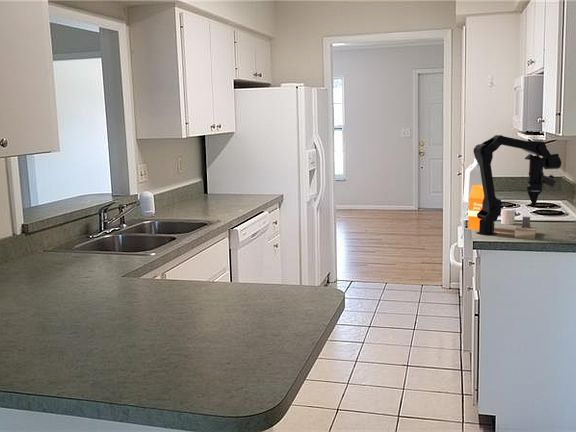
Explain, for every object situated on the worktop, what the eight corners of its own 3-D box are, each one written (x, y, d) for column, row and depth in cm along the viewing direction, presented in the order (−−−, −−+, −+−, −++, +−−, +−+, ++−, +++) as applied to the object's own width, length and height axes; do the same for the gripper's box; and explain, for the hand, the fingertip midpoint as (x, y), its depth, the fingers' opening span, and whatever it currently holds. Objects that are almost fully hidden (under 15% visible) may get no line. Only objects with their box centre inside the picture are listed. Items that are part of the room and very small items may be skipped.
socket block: (534, 239, 265) (535, 232, 264) (514, 238, 268) (514, 231, 268) (535, 232, 280) (536, 226, 279) (516, 231, 283) (516, 225, 282)
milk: (487, 203, 376) (489, 159, 372) (468, 203, 376) (469, 159, 372) (481, 200, 388) (483, 158, 384) (463, 200, 388) (464, 158, 384)
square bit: (529, 234, 275) (530, 217, 274) (521, 234, 276) (522, 217, 275) (529, 233, 278) (530, 216, 277) (522, 233, 279) (522, 216, 278)
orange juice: (474, 226, 298) (476, 184, 294) (492, 228, 292) (494, 185, 289) (467, 228, 292) (469, 185, 289) (486, 230, 286) (487, 186, 283)
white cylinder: (503, 222, 309) (503, 207, 308) (517, 223, 305) (517, 208, 303) (497, 223, 304) (498, 209, 303) (512, 225, 299) (512, 210, 298)
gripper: (555, 171, 266) (554, 208, 269) (555, 168, 283) (554, 202, 286) (527, 171, 271) (526, 207, 273) (529, 167, 288) (528, 201, 290)
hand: (534, 204), depth 280 cm, fingers open, 9 cm apart
